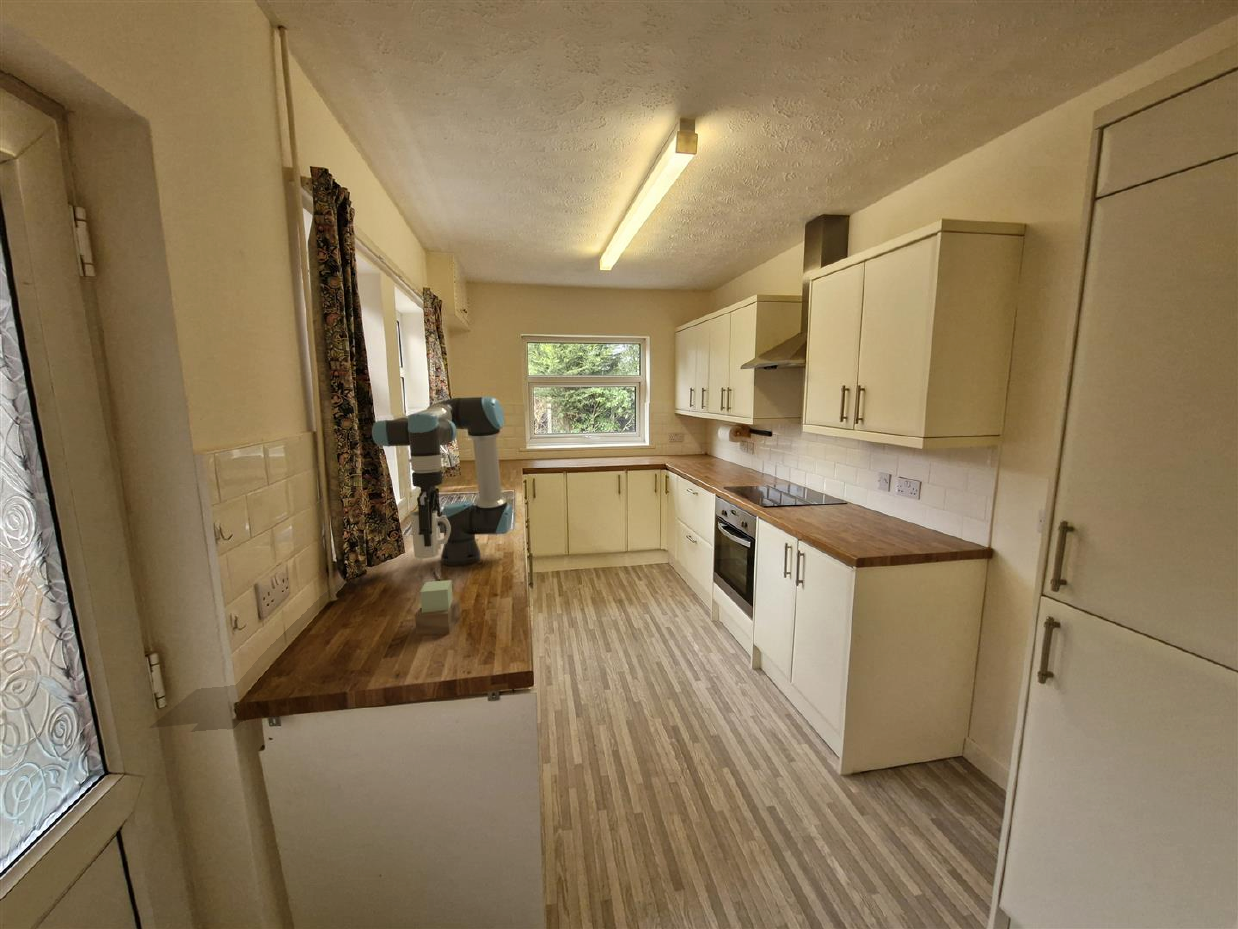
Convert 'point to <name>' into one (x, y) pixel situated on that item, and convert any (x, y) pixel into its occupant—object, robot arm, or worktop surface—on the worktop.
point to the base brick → (437, 620)
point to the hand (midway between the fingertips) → (432, 552)
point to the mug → (435, 519)
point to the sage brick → (436, 596)
